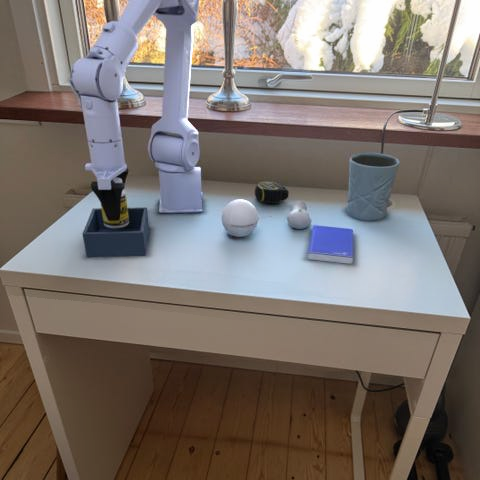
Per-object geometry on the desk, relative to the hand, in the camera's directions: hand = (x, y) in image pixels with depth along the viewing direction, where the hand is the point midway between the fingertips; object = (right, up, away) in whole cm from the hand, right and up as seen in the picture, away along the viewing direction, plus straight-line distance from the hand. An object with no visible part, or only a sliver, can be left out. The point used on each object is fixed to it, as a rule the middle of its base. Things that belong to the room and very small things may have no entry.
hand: (115, 213), depth 87 cm
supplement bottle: (0, -2, +1) cm, 2 cm away
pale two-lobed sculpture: (+36, 0, +12) cm, 38 cm away
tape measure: (+31, +8, +23) cm, 39 cm away
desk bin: (0, -5, +3) cm, 6 cm away
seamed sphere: (+25, -3, +7) cm, 26 cm away
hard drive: (+41, -6, +4) cm, 42 cm away
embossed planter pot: (+52, +4, +18) cm, 55 cm away
